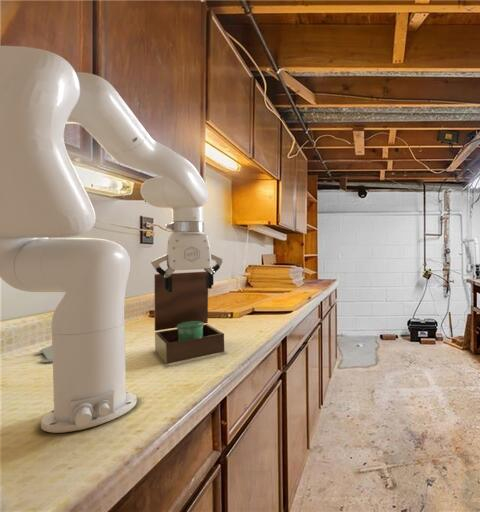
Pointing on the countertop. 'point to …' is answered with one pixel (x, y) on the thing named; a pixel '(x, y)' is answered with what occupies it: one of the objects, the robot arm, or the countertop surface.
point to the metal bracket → (46, 354)
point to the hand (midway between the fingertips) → (189, 289)
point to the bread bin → (188, 344)
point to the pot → (190, 330)
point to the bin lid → (180, 300)
